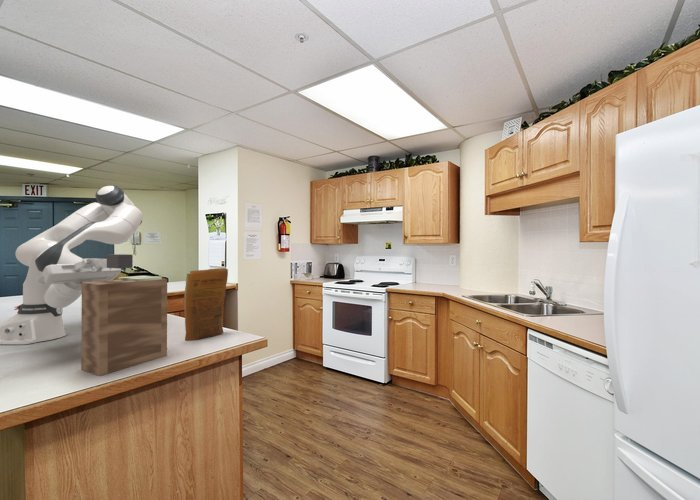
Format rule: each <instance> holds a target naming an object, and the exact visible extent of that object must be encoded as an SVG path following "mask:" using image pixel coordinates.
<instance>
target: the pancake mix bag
mask: <svg viewBox="0 0 700 500" xmlns="http://www.w3.org/2000/svg"><path fill="white" fill-rule="evenodd" d="M228 274H229V269H228V268H226V267H223V268H222V267H221V268H220V267H217V268H208V269H201V270H200V269H199V270H198V269H196V270H190V271H189V273H186V278H185V286H184V287H185V288H184V297H183V298H184V299H183V301H184V303H183V305H184V325H185V326H184V327H185V328H184V329H185V336H184V341H199V340H202V339H206V338H210V337H214V336H219V335H220V336H221V335H222V334H223V333H224V328H223V315H224V302H225V297H226V293H227V292H226V291H227V284H228V283H227V282H228V278H229V275H228Z"/></svg>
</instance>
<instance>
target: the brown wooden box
mask: <svg viewBox="0 0 700 500" xmlns="http://www.w3.org/2000/svg"><path fill="white" fill-rule="evenodd" d="M117 277H118V276H117ZM80 337H81V342H80V343H81V344H80V346H81V355H80V356H81V359H80V360H81V368H80V369H81V371H84V372H87V373H90V374H92V375H96V376H99V377H101V376H104V375H107V374H111V373H114V372H117V371H121V370H124V369H128V368H130V366H131V367H134V366H137V365H141V364H143V362H144V363H147V362H150V361H152V360H157V359H159V358H163V357H166V356H168V278H162V276H153V275H134V276H133V275H132V276H119V277H118V279H113V280H110V281H97V282H84V283H82V294H81V336H80Z"/></svg>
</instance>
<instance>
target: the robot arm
mask: <svg viewBox="0 0 700 500" xmlns="http://www.w3.org/2000/svg"><path fill="white" fill-rule="evenodd" d="M94 196H95V199H96V201H97V202H91V203H89V204H87V205H84V206H82V207H81V208H79V209H77V210H76V211H74V212H73V213H71V214H70V215H69V216H67V217H65V218H63V220H61V221H59V222H58V223H57V224H56V225H54V226H52V227H50V228H48V229H46V230H45V231H43V232H41V233H39V234H38V235H35V236H34V237H32V238H31V239H29V240H27V241H25V242H24V243H22V244H20V245H19V246H18V247H17V248H16V250H15V252H14V253H15V258H16V259H17V261H18V262H20V264H22V265H24V266H26V267H28V271H27V274H26V277H25V280H24V282H23V283H22V303H21V304H20V305H18V306H14V307H13V308H14V309H13V310H14V311H16V310H17V313H16V314H14V315H13V316H12V317H10V318H8V319H7V320H5V321H4V322H2V323H1V324H0V345H30V344H34V343H39V342H44V341H51V340H55V339H60V338H62V337H64V336H65V337H66V335H67V333H66V330H65V327H64V323H63V309H64V308H66V307H68V306H70V305H72V304H74V303H75V301H77V300H78V299H79V298H80V297H81V296H82V283H84V282H97V281H110V280H115V278H117V277H118V276H119V275H120V274H121V271H122V268H119V269H117V268H107V267H92V266H89V265H90V260H89V259H84V258H83V257H80V256H79V255H77V254H75V253H73V252H71V250H72V249H73V248H75V247H77V246H80V245H81V244H83V243H84V242H85V241H87V240H88V241H96V242H100V243H103V244H108V245H121V244H124V243H126V242H128V241H129V240H130V239H131V238H132V236H133V235H134V234H135V233H136V231H137V230H138V228H139V226H140V225H141V224H142V223H143V219H144V218H143V212H142V211H141V209H139V208H138V207H137V206H135V204H134V202H133V201H132V200H131V199H130V198H129V196H127V195H126V193H125V191H124V190H123V189H122V188H121V187H119V186H118V185H115V184H109V185H105V186H103V187H101V188H99V189H98V190H97V191H96V192H95V194H94Z"/></svg>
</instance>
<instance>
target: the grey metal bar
mask: <svg viewBox="0 0 700 500" xmlns="http://www.w3.org/2000/svg"><path fill="white" fill-rule="evenodd" d="M133 257H134V255H133V254H130V253H129V254H128V253H127V254H125V253H124V254H122V253H120V254H117V253H116V254H114V253H113V254H106V258H93V257H91V258H90V257H89V258H83V259H89V260H90V265H89V266H92V267H107V268H117V269H119V268H121V269H133Z"/></svg>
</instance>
